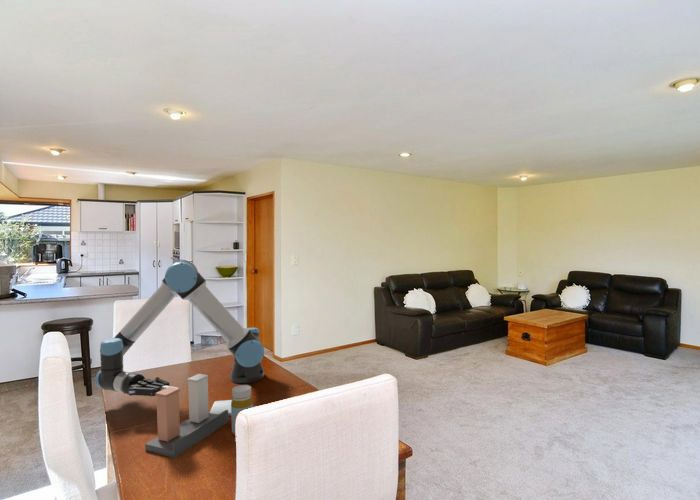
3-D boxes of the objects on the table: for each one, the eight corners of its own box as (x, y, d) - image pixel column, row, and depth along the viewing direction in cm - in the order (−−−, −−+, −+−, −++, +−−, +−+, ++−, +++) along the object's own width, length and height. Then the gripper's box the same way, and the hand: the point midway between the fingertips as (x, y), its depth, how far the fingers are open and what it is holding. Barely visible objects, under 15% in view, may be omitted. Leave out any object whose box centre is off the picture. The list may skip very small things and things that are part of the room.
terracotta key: (170, 431, 128) (169, 386, 128) (181, 433, 126) (179, 388, 126) (157, 439, 123) (155, 393, 123) (167, 442, 121) (165, 395, 121)
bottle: (231, 439, 127) (230, 393, 127) (232, 429, 134) (230, 385, 133) (254, 435, 129) (252, 390, 128) (253, 425, 136) (251, 383, 135)
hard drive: (231, 413, 144) (235, 399, 156) (207, 414, 142) (214, 400, 155) (231, 417, 144) (235, 403, 156) (208, 419, 142) (214, 404, 155)
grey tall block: (199, 414, 140) (198, 373, 140) (209, 416, 138) (208, 375, 138) (188, 421, 135) (187, 378, 135) (198, 423, 133) (197, 380, 133)
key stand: (201, 416, 143) (201, 404, 143) (228, 422, 139) (228, 409, 139) (145, 450, 121) (144, 436, 121) (174, 457, 117) (174, 443, 117)
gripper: (145, 386, 155) (191, 395, 146) (114, 399, 143) (162, 410, 134) (144, 368, 155) (190, 375, 146) (113, 379, 143) (161, 388, 134)
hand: (177, 392), depth 140 cm, fingers closed
